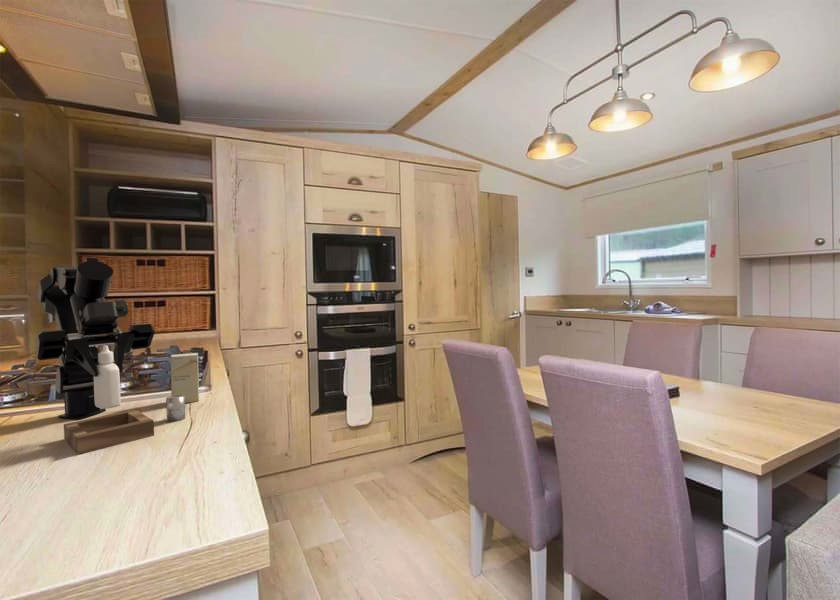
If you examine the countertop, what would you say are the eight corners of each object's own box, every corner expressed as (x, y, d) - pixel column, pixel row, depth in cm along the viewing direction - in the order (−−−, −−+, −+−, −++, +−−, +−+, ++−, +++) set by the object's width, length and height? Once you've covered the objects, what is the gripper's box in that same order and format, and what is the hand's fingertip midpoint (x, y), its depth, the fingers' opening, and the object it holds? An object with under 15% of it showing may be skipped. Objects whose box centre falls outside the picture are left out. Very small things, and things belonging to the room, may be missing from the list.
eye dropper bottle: (122, 400, 86) (119, 342, 86) (120, 407, 82) (117, 346, 81) (95, 403, 84) (93, 344, 83) (92, 411, 79) (89, 348, 79)
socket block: (64, 439, 82) (63, 424, 82) (135, 422, 92) (134, 409, 91) (78, 454, 75) (77, 438, 75) (154, 435, 84) (153, 420, 84)
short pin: (162, 421, 92) (161, 399, 92) (175, 416, 96) (174, 394, 96) (176, 422, 91) (175, 399, 91) (189, 417, 95) (188, 395, 95)
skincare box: (171, 405, 105) (169, 357, 104) (172, 400, 109) (170, 354, 108) (199, 401, 108) (197, 354, 107) (199, 397, 112) (198, 352, 111)
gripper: (34, 288, 77) (49, 355, 70) (150, 286, 91) (171, 341, 85) (30, 327, 82) (43, 392, 76) (139, 319, 97) (158, 374, 90)
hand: (108, 373), depth 82 cm, fingers closed on eye dropper bottle, 3 cm apart
